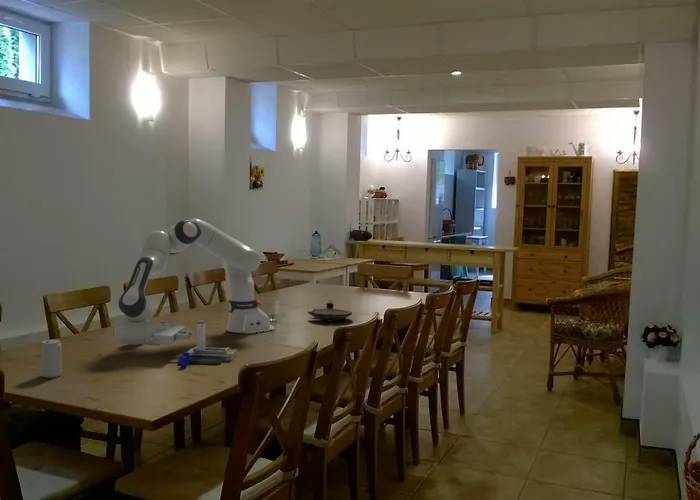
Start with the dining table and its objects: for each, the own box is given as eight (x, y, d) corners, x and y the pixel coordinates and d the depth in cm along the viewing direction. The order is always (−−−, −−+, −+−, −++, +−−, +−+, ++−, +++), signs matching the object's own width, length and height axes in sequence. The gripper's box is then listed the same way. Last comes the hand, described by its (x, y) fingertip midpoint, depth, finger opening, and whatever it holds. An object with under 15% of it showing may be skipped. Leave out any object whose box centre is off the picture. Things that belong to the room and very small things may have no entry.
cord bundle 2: (188, 363, 242) (188, 360, 242) (190, 361, 245) (190, 358, 245) (219, 365, 242) (220, 361, 241) (221, 363, 245) (221, 359, 244)
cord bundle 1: (201, 351, 262) (201, 347, 262) (203, 349, 265) (203, 345, 265) (230, 352, 262) (230, 348, 261) (232, 350, 265) (232, 347, 264)
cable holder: (179, 362, 244) (179, 352, 244) (189, 362, 245) (189, 352, 244) (176, 368, 236) (176, 357, 236) (186, 368, 237) (186, 357, 236)
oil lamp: (300, 322, 326) (301, 307, 326) (322, 313, 355) (322, 299, 354) (342, 326, 319) (343, 311, 319) (361, 316, 348) (361, 302, 347)
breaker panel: (183, 359, 248) (183, 350, 247) (192, 352, 260) (192, 343, 259) (230, 361, 247) (230, 352, 247) (237, 354, 259) (237, 345, 259)
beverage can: (45, 373, 225) (44, 339, 224) (64, 373, 225) (64, 339, 224) (38, 378, 218) (37, 343, 217) (57, 378, 219) (57, 343, 218)
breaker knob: (196, 351, 252) (197, 321, 251) (199, 349, 255) (199, 320, 254) (203, 351, 252) (203, 321, 251) (205, 350, 255) (205, 320, 254)
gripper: (146, 331, 243) (183, 332, 242) (164, 321, 263) (198, 322, 263) (146, 348, 243) (182, 349, 243) (164, 336, 264) (197, 337, 263)
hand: (190, 335), depth 253 cm, fingers closed
